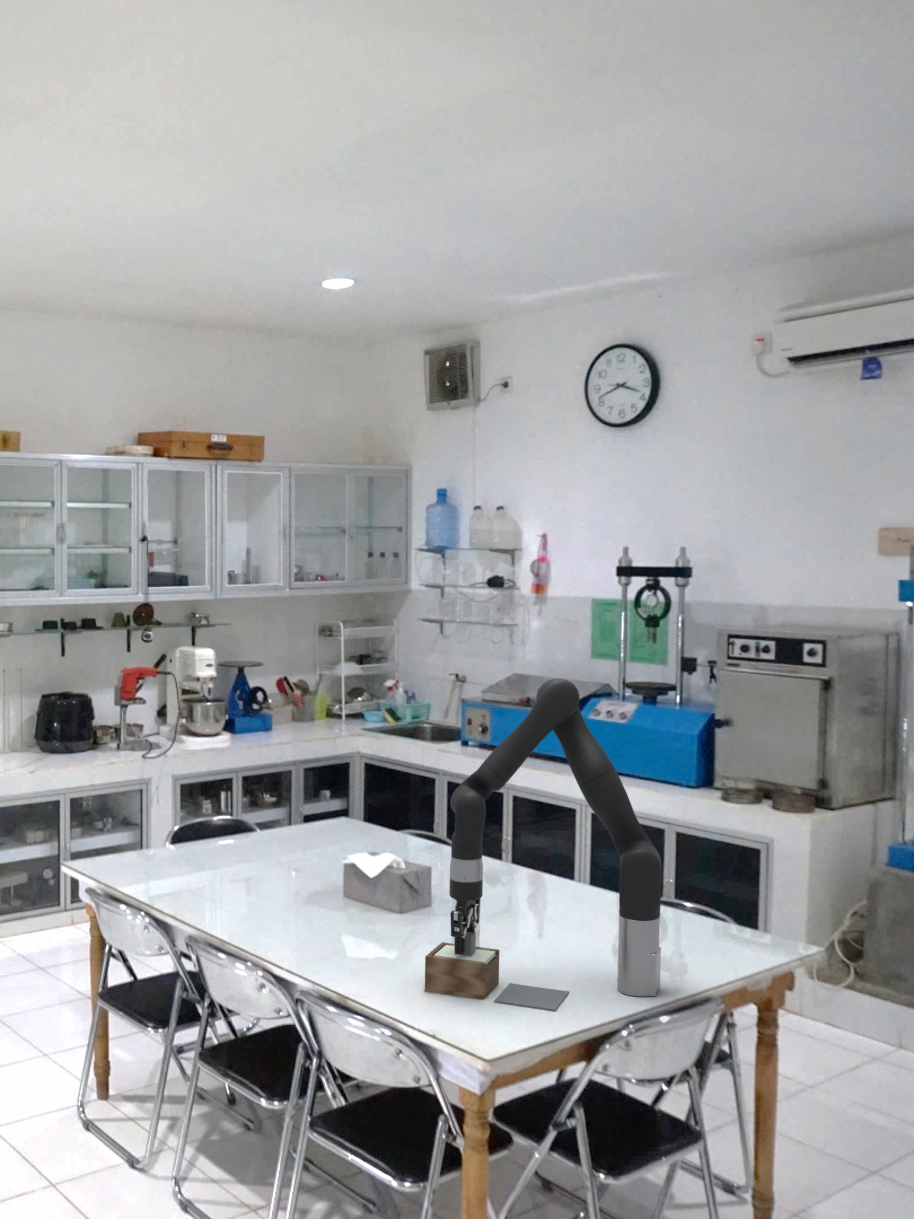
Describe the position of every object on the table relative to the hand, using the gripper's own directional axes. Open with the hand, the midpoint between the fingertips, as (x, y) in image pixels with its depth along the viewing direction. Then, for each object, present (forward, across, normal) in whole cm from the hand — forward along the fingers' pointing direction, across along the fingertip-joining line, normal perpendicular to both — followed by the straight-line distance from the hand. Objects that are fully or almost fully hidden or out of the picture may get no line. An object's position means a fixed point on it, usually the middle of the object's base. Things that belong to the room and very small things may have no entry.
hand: (464, 949), depth 277 cm
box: (+9, 0, 0) cm, 9 cm away
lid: (+2, 0, 0) cm, 2 cm away
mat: (+9, 0, -16) cm, 18 cm away
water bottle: (+9, +24, +8) cm, 27 cm away
